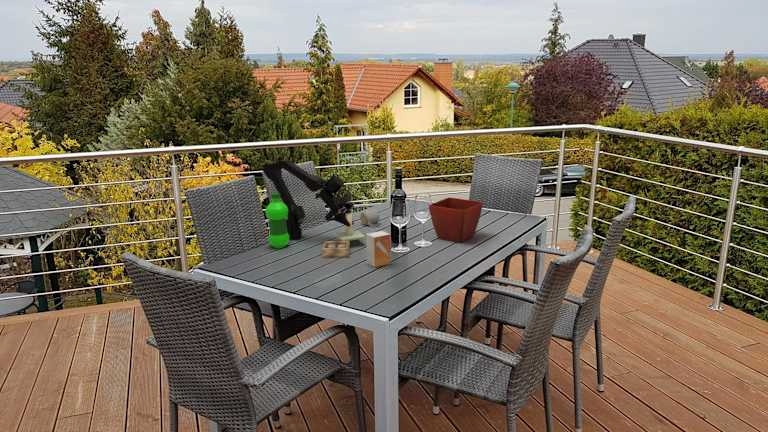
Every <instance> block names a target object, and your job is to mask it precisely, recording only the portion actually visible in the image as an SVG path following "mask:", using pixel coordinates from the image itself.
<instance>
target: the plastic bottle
mask: <svg viewBox="0 0 768 432" xmlns="http://www.w3.org/2000/svg"><path fill="white" fill-rule="evenodd" d="M270 199H272V200H271V202H270V203H269V204H268V205H267V206H266V207H265V211H264V213H265V217H266V218H267V219H268V223H269V224H268V225H269V235H268V239H267V240H268V241H267V242H268V243H269V244H270V246H272V247H273V248H276V249H282V248H285V247H286V246H287V245H288V244H289V242H290V239H289V234H288V233H287V227H286V220H287V216H288V208H287V206H286V205H285V204H284V203H283V201H280V199H281V197H280V193H278V192H273V193H270Z"/></svg>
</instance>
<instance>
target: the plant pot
mask: <svg viewBox="0 0 768 432" xmlns="http://www.w3.org/2000/svg"><path fill="white" fill-rule="evenodd" d="M483 204H484V203H483V201H477V200H471V199H463V198H457V197H447V198H444V199H442V200H439V201H436V202H433V203H430V204H428V209H429V214H430V218H431V223H432V225H433V228H434V232H435V233H436V236H437V238H438V239H440V240H445V241H450V242H454V243H460V244H461V243H463V242H464V241H468V240H469V239H470V238H473V237H474V235H475V233H476V231H477V227H478V226H479V222H480V218H481V214H482V210H483Z"/></svg>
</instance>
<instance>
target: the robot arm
mask: <svg viewBox="0 0 768 432" xmlns="http://www.w3.org/2000/svg"><path fill="white" fill-rule="evenodd" d="M283 170H284V171H287V172H288V173H290V174H291V175H292V176H294V177H295V178H297V179H298V180H300V181H302V182H303V183H304V185H305V187H306V188H308V189H309V191H311V192H312V193H314V192H315V200H318V199H321V201H322V202H323V203H324V204H325V208H326V209H329V211H328V212H327V213H326V215H325V216H324V220H325V221H326V222H328V223H329V222H331V221H333V222H337V223H340V224H342V225H344V226H345V227H346V226H348V227H350V226H351V225H350V223H349V222H348V220H347V219H346V215H345V214H346V213H351V210H352V209H353V207H354V206H355V203H354V202H353V201H352V195H351V194H349V192H346V193H344V194H343V196H342V197H339V196H335V194H337V193H338V192H339V191H341V189H342V188H343V187H344V186H345V182H344V180H343V179H342V178H341V177H339V176H336V175H335V174H334V175H331V176H330V178H329V179H328V180H324V179H323V178H322V177H320V176H318V175H315V174H311V173H308V171H306V170H304V169H303V168H302V167H300V166H298V165H296V163H294V162H292V161H291V160H290V159H288V158H287V159H283V160H281V161H279V162H278V161H275V160H274V161H270V162H267V163H264V164H263V165H262V172H263V174H264V175H265V176H266V178H267V179H268V180H270V181H271V182H272V184H273V185H274V187H275V190H276V191H277V193H280V199H281V200H282V201H281V202H282V203H284V204H285V205H286V206H287V208H288V216H287V217H286V227H287V233H288V234H289V240H300V239H301V238H302V237H303V228H302V226H301V225H302V224H303V223H304V220H305V218H306V214H305V213H306V211H305V210H304V208H303V205H302V204H301V205H298V204H297V203H296V202H295V200H294V198H293V196H292V194H291V192H290V191H289V189H288V187H287V184H286V182H285V181H284V179H283V173H282V172H283ZM318 191H319V192H318ZM332 219H333V220H332ZM354 224H355V222H354V220H353V218H352V226H354Z"/></svg>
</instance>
